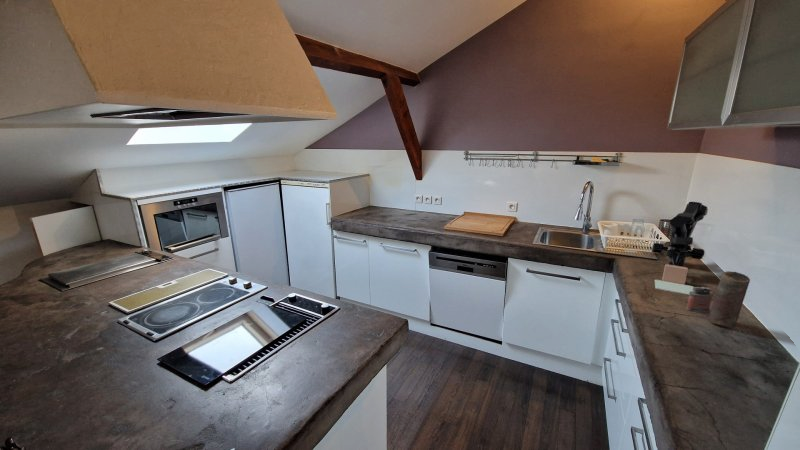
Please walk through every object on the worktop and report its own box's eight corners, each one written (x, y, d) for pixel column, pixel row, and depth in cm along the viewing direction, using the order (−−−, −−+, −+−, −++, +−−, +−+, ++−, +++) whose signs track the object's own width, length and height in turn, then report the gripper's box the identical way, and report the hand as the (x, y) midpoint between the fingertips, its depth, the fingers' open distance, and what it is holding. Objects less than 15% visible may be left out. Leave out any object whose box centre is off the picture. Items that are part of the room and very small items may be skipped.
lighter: (704, 307, 133) (710, 285, 130) (711, 312, 130) (717, 289, 127) (683, 307, 134) (688, 285, 131) (689, 311, 130) (695, 289, 128)
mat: (654, 280, 157) (654, 279, 157) (692, 287, 149) (693, 286, 149) (655, 288, 149) (655, 287, 149) (696, 296, 142) (696, 295, 141)
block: (662, 279, 158) (665, 264, 156) (683, 283, 153) (687, 267, 151) (662, 281, 156) (665, 265, 154) (684, 285, 151) (688, 269, 149)
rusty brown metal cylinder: (736, 323, 122) (750, 274, 116) (735, 332, 117) (750, 281, 111) (708, 316, 127) (721, 268, 122) (706, 324, 122) (719, 275, 117)
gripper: (656, 227, 159) (653, 255, 153) (708, 232, 148) (706, 263, 143) (653, 237, 167) (649, 265, 161) (702, 244, 157) (700, 273, 151)
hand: (675, 266), depth 154 cm, fingers closed
